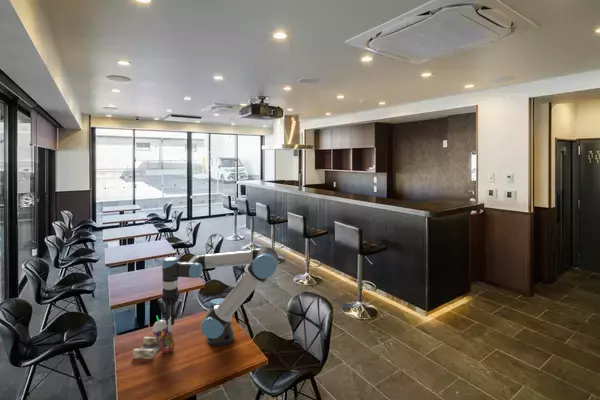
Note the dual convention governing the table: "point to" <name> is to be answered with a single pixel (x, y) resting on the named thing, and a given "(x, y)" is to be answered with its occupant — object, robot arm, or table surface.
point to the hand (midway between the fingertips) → (170, 330)
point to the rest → (147, 349)
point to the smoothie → (163, 336)
